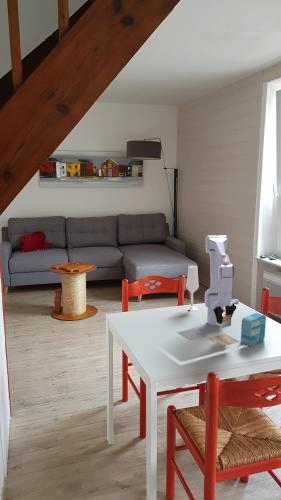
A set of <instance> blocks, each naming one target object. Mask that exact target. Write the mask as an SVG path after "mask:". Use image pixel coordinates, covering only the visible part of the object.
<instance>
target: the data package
mask: <svg viewBox="0 0 281 500" xmlns="http://www.w3.org/2000/svg"><path fill="white" fill-rule="evenodd" d="M266 322H267V316H266V315H265V314H261V313H257V312H254V313H252V314H249V315H247V316H245V317H243V318H242V319H241V325H240V326H241V327H240V329H241V330H240V331H241V332H240V342H241V343H244V345H245V346H248V347H253V346H254V345H256V344H259V343H261V342H263V341H265V337H266V336H265V335H266V324H267V323H266Z"/></svg>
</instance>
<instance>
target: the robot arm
mask: <svg viewBox="0 0 281 500" xmlns="http://www.w3.org/2000/svg"><path fill="white" fill-rule="evenodd" d="M204 242H205V243H204V244H205V247H204V249H205V253H207V254H209V262H210V263H209V264H210V265H209V267H210V269H209V270H210V272H209V273H210V275H209V277H210V287H209V288H208V289H207V290H206V291H204V306H205V307H206V308H207V314H206V316H207V317H206V323H207V324H208V325H210V326H217V325H216V320H217V323H219V324H221V323H222V315H223V312H226V313H228V314H231V319H233V318H232V317H233V314H234V313H235V311H236V310H237V306H238V305H239V302H240V300H239V299H237V298H233V297H232V293H233V279H234V277H235V266H234V264H233V263H231V260H230V257H229V255H228V254H227V253H226V250H227V248H228V244H229V243H228V242H229V240H228V236H227V235H226V234H224V235H209V234H208V235H206V236H205V240H204ZM232 298H233V299H232Z"/></svg>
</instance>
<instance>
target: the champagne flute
mask: <svg viewBox="0 0 281 500" xmlns="http://www.w3.org/2000/svg"><path fill="white" fill-rule="evenodd" d="M187 268H188V269H187V276H186V285H185V286H186V287H185V288H186V289H187V290H188V291H189V293H190V306H187V308H188V309H190V310H197V309H198V308H197V307H196V306H194V293H195V292H196V291H197V290H198V289H199V288H200V286H199V274H198V273H199V271H198V265H188V267H187ZM197 311H198V310H197Z"/></svg>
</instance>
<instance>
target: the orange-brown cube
mask: <svg viewBox="0 0 281 500" xmlns="http://www.w3.org/2000/svg"><path fill="white" fill-rule="evenodd" d="M215 326H218V327H221V328H222V329H223V328H227V327H231V326H232V318H231V314H228V313H226V312H223V315H222V323H221V324H219V323H217V320H216V325H215Z"/></svg>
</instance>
